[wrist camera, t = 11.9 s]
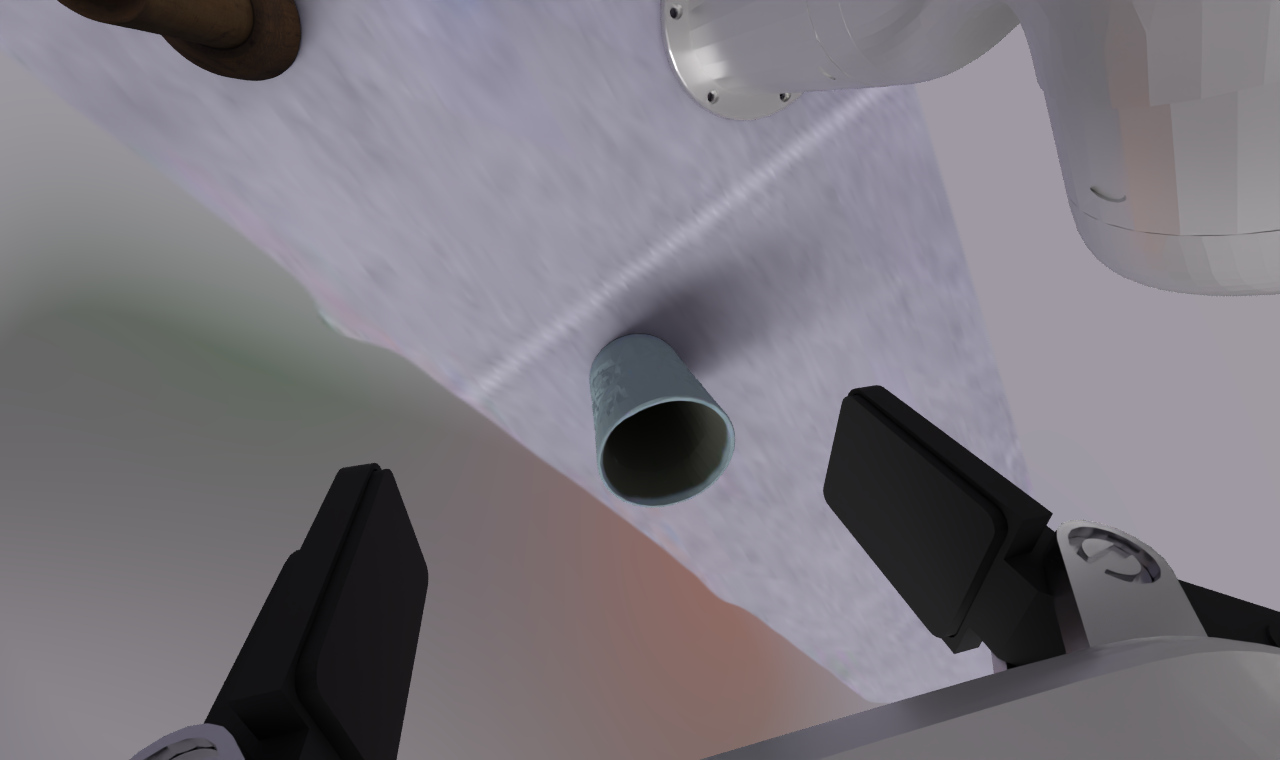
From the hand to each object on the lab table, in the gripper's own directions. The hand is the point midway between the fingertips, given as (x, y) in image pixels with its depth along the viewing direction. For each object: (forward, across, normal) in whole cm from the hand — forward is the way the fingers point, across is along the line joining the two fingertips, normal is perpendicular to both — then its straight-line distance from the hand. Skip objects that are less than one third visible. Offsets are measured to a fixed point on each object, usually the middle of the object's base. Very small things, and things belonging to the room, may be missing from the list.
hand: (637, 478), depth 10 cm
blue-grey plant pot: (+31, -6, +15) cm, 35 cm away
